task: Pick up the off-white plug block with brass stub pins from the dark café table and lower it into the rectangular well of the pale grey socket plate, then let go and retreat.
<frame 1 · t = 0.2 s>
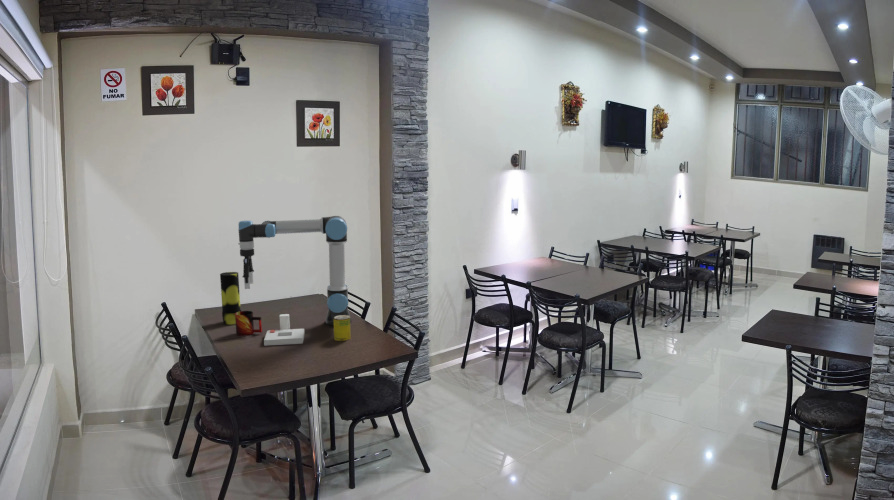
hand: (249, 286, 346), 27 cm above the table, fingers open, 13 cm apart
plug: (285, 332, 352), on the table
container: (232, 322, 372), on the table
mug: (249, 333, 350), on the table
socket: (285, 339, 338), on the table
yellow can: (342, 338, 340), on the table
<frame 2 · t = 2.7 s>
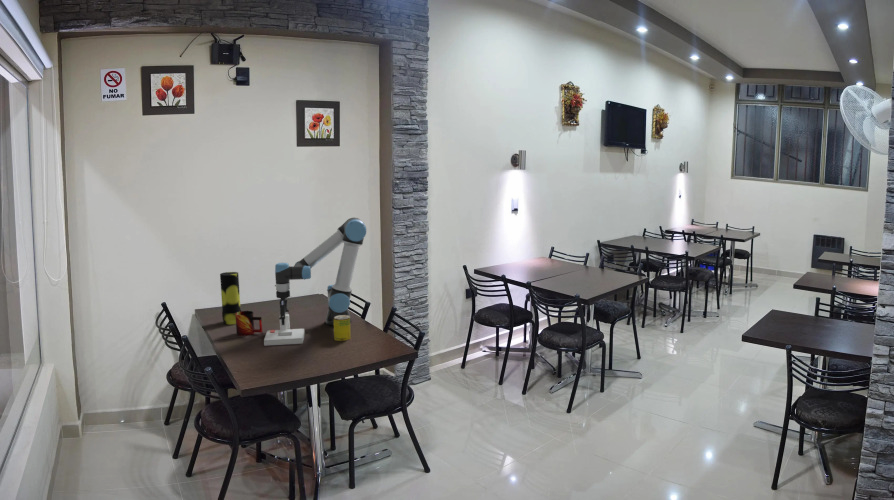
hand: (284, 326, 351), 3 cm above the table, fingers open, 13 cm apart
nothing on the table moved.
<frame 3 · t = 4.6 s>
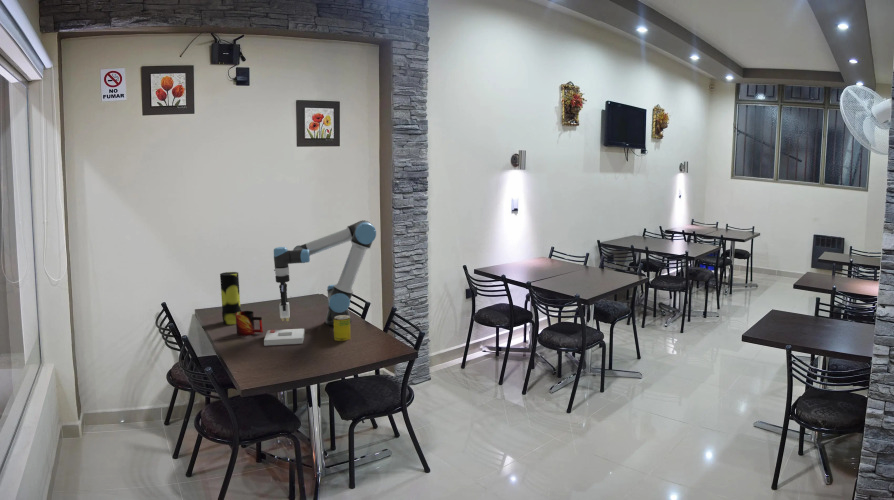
hand: (285, 315, 350), 10 cm above the table, fingers closed on plug, 4 cm apart
plug: (285, 320, 351), point 7 cm above the table, touching gripper
everything else where it was.
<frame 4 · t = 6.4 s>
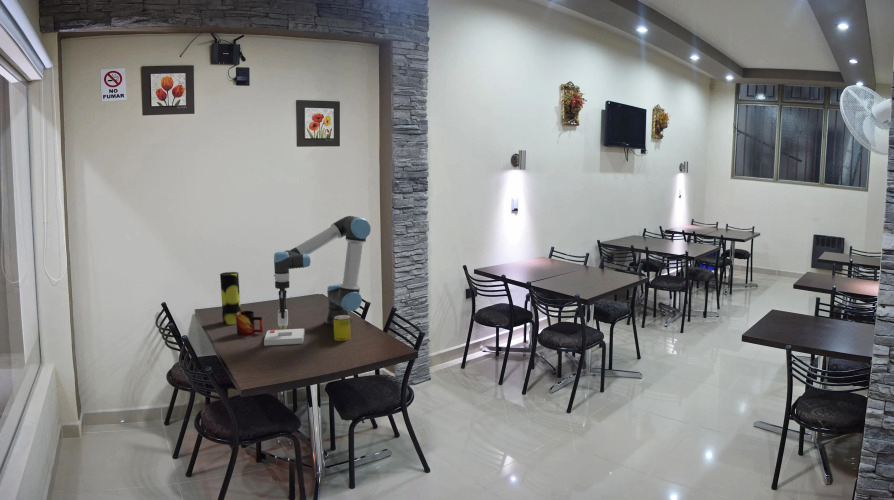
hand: (283, 322, 337), 10 cm above the table, fingers closed on plug, 4 cm apart
plug: (283, 328, 337), point 6 cm above the table, touching gripper
everything else where it was.
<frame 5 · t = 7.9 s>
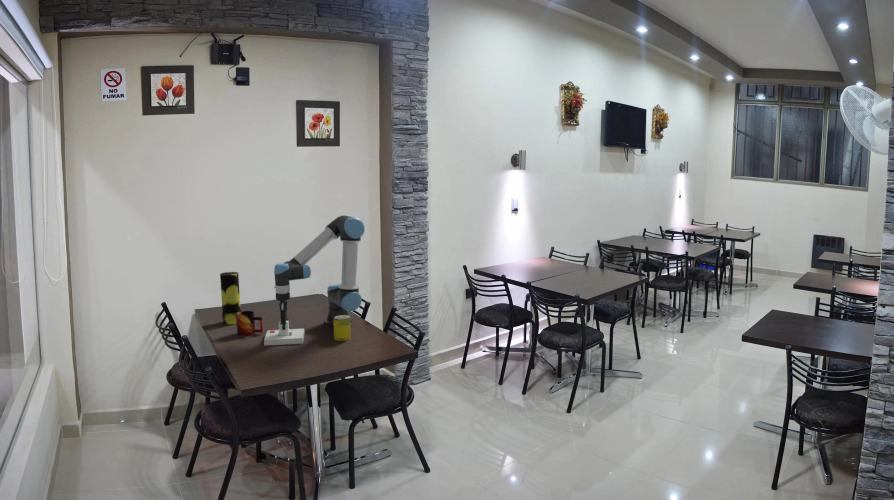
hand: (284, 333, 338), 3 cm above the table, fingers closed on plug, 4 cm apart
plug: (284, 339, 338), resting in socket, touching gripper
everything else where it was.
when the fingers open (3 cm above the table, at t = 8.3 s): plug stays where it is, resting in socket.
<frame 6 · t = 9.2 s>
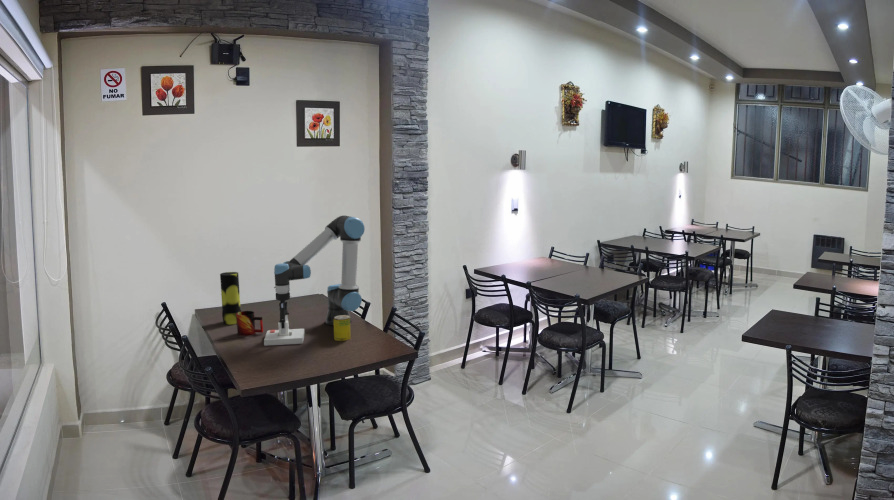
hand: (284, 330, 337), 5 cm above the table, fingers open, 13 cm apart
plug: (284, 339, 338), resting in socket
everything else where it was.
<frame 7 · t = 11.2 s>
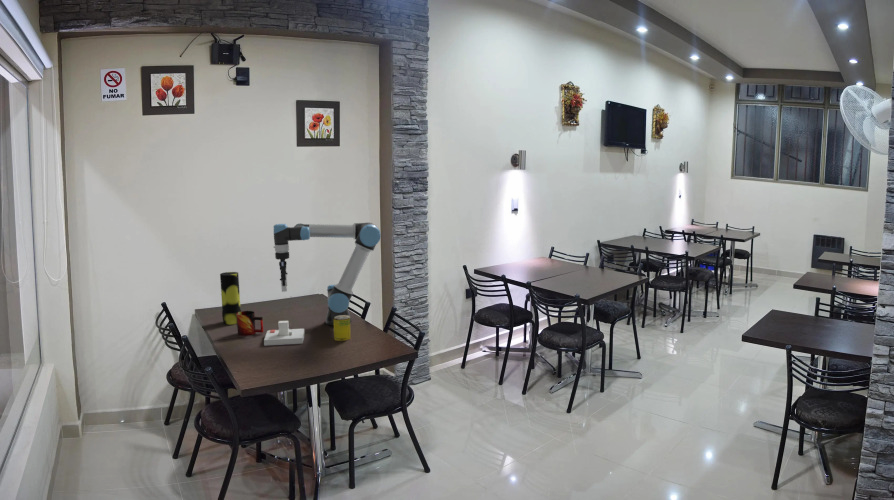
hand: (284, 288, 349), 25 cm above the table, fingers open, 13 cm apart
nothing on the table moved.
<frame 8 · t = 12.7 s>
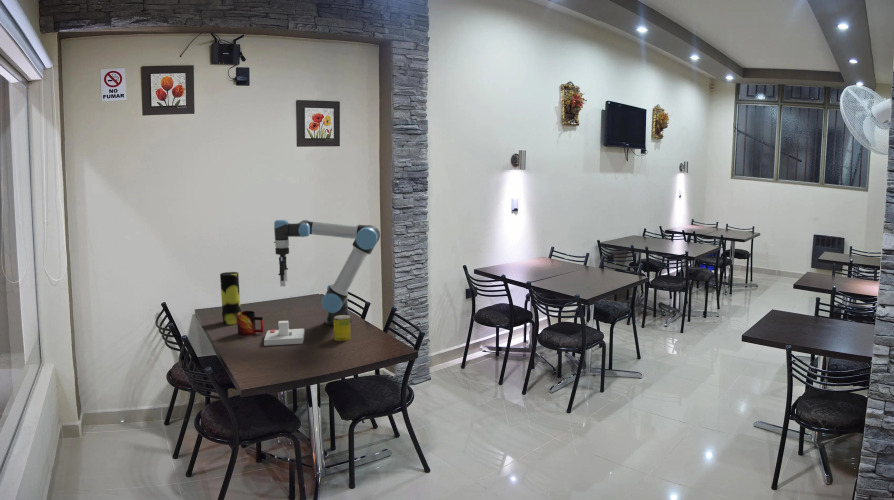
hand: (283, 283, 354), 27 cm above the table, fingers open, 13 cm apart
nothing on the table moved.
at the end: plug 0.4 cm off-centre on the socket, point 0.0 cm above the socket's base; plug tilted 0°; the gripper is holding nothing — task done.
